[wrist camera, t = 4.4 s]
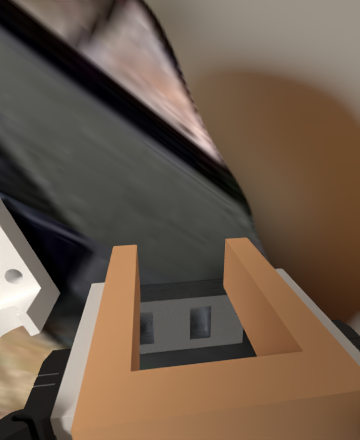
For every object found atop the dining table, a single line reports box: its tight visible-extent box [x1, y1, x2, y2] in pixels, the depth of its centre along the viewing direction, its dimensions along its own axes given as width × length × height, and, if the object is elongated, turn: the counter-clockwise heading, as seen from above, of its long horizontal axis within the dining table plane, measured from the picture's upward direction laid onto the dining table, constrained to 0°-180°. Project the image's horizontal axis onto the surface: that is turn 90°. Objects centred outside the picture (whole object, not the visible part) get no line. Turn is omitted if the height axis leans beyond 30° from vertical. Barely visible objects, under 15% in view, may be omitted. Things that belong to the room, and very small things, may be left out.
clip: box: [71, 238, 360, 440], centre depth 13 cm, size 4×8×10 cm, turn 91°
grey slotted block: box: [139, 279, 243, 354], centre depth 34 cm, size 8×18×4 cm, turn 91°
